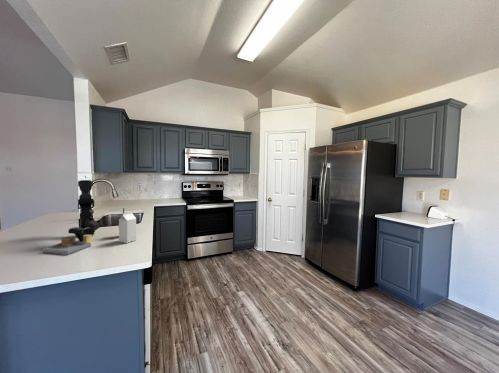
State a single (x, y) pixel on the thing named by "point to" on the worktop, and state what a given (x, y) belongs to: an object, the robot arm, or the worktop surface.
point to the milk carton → (127, 228)
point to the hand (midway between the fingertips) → (86, 240)
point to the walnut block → (68, 241)
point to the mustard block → (87, 238)
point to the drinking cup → (120, 216)
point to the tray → (66, 248)
